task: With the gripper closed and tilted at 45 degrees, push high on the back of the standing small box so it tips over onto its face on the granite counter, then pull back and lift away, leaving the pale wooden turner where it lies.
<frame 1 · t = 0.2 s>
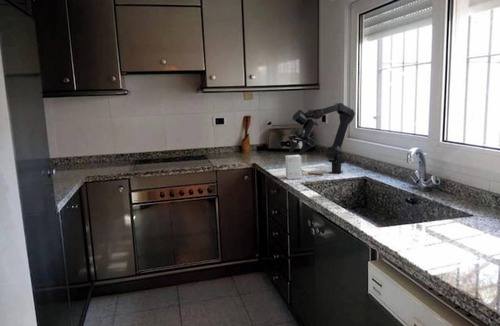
hand: (294, 153, 208), 15 cm above the worktop, tool tilted 35°, fingers open, 9 cm apart
wooden turner: (308, 174, 224), on the worktop
small box: (293, 178, 216), on the worktop
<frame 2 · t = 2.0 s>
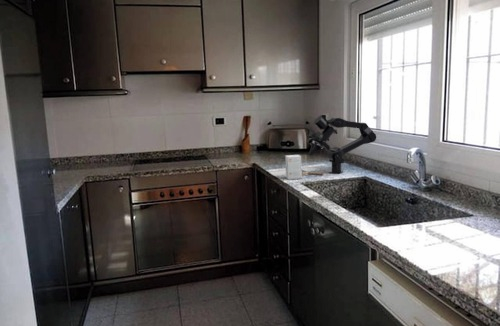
hand: (309, 155, 217), 12 cm above the worktop, tool tilted 45°, fingers closed
nothing on the worktop moved.
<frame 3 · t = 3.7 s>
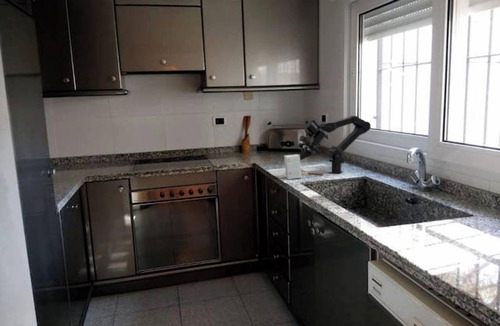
hand: (299, 159, 215), 10 cm above the worktop, tool tilted 45°, fingers closed
small box: (293, 177, 216), on the worktop, touching gripper
everything else where it was.
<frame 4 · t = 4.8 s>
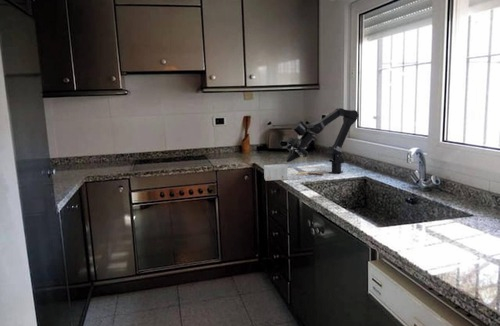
hand: (287, 161, 213), 10 cm above the worktop, tool tilted 45°, fingers closed
small box: (287, 171, 215), point 4 cm above the worktop
everything else where it was.
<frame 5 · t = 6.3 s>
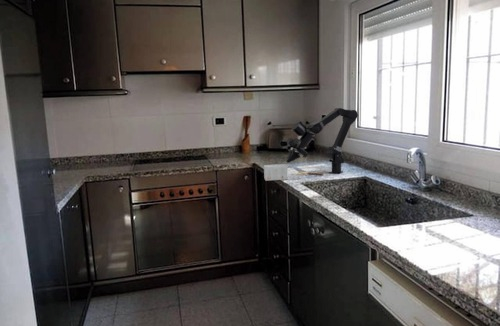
hand: (287, 162, 213), 10 cm above the worktop, tool tilted 45°, fingers closed
nothing on the worktop moved.
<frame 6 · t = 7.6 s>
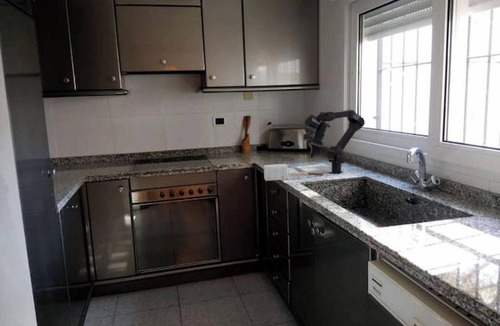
hand: (311, 157, 214), 11 cm above the worktop, tool tilted 25°, fingers closed
nothing on the worktop moved.
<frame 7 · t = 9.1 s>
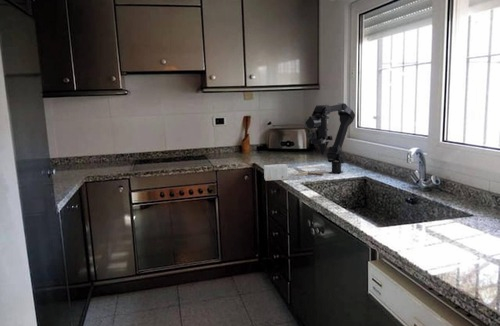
hand: (322, 154, 214), 13 cm above the worktop, tool pointing down, fingers closed
nothing on the worktop moved.
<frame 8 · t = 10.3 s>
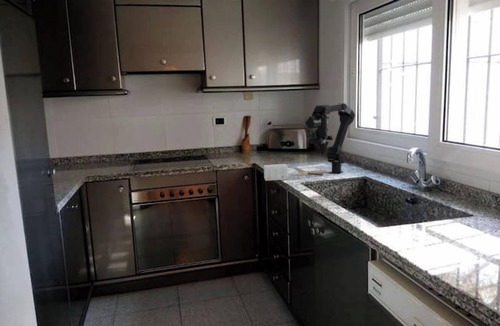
hand: (322, 154, 214), 13 cm above the worktop, tool pointing down, fingers closed
nothing on the worktop moved.
at the end: small box tilted 90°; small box inside the target area (4.8 cm from its centre), point 4.0 cm above the worktop; wooden turner moved 0.0 cm from its start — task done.
